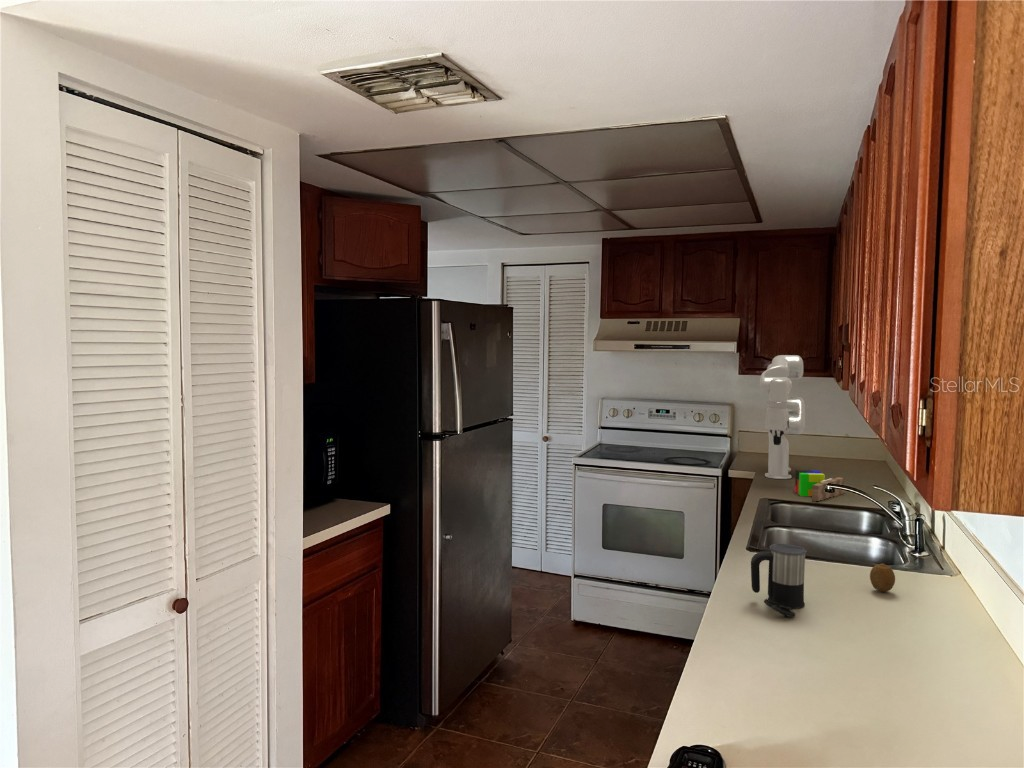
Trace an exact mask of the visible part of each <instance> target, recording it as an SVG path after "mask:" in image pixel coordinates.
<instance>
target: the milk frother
mask: <svg viewBox="0 0 1024 768" xmlns="http://www.w3.org/2000/svg"><path fill="white" fill-rule="evenodd" d="M807 551H808V550H807V549H806V548H804V547H802V546H799V545H795V544H789V543H788V544H787V543H774V544H771V545H769V551H767V550H766V551H763V550H761V551H758V552H756V553H754V555H753V556H752V557H751V560H750V575H751V577H750V580H751V590H752V591H753V592H754V593H759V592H760V590H761V581H760V580H761V579H760V578H761V577H760V565H761V563H762V562H763V561H768V573H767V574H768V575H767V576H768V577H767V579H768V580H767V595H768V597H767V598H765V599H764V600H763V603H764V604H765V605H766V606H768V607H770V608H771V609H773V610H774V611H776V612H777V613H779V614H780V615H782V616H784V617H785V618H787V617H792V618H793V617H795V616H796V611H794V610H795V609H801V608H803V607H805V605H806V604H805V595H804V594H805V592H804V591H805V568H806V567H805V565H806V553H807ZM793 609H794V610H793Z"/></svg>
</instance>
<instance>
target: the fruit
mask: <svg viewBox="0 0 1024 768" xmlns="http://www.w3.org/2000/svg"><path fill="white" fill-rule="evenodd" d="M869 580H870V583H871V585H872V587H873V589H875V590H876V591H879V592H880V593H886V592H889V591H891V590H892V589H893V588H894V585H895V583H896V575H895V572H894V570H893V569H892V567H891V566H889V565H886V564H885V563H880V564H879V563H878V564H875V565H874V566H873V567H872V568H871V570H870V573H869Z"/></svg>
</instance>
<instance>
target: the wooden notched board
mask: <svg viewBox="0 0 1024 768" xmlns="http://www.w3.org/2000/svg"><path fill="white" fill-rule="evenodd" d="M828 483H831V484H840V485H845V477H840V476H837V477H834V478H828V479H825V480H823V481H821V483H818V484H815V485H812V497H811V502H813V501H819V500H823V499H826V498H829V497H831V498H834V497H837V496H840V495H843V494H844V492H845V491H844V490H845V489H844V490H841V489H835V492H834V493H827V492H825V490H824V488H825V486H826V484H828ZM833 496H834V497H833ZM829 499H830V498H829ZM826 500H827V499H826ZM823 501H824V500H823Z"/></svg>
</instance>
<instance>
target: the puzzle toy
mask: <svg viewBox="0 0 1024 768" xmlns="http://www.w3.org/2000/svg"><path fill="white" fill-rule="evenodd" d="M794 477H795V478H794V479H795V481H794V482H795V483H794V487H795V488H794V489H795V490H794V492H795V491H796V492H797V493H798V494H799V495H800V496H799V495H798V494H797V493H796V492H795V493H796V494H797V495H798V496H799V497H802V496H812V485H815V484H818V483H821V481H823V480H826V475H825V474H824V473H823V472H821V471H820V470H809V469H808V470H805V469H802V470H801V469H799V470H798V469H796V470H795V475H794Z"/></svg>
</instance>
